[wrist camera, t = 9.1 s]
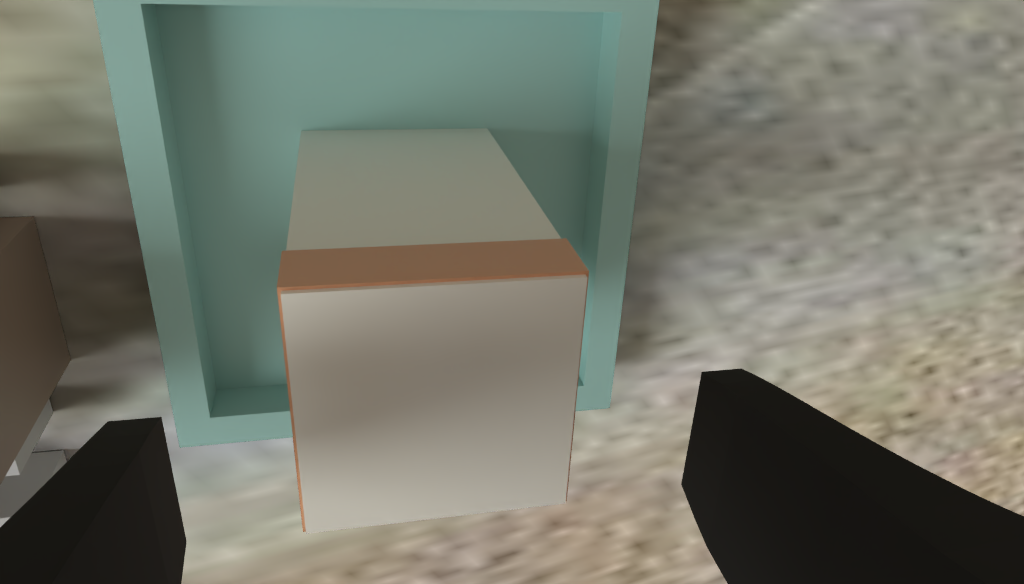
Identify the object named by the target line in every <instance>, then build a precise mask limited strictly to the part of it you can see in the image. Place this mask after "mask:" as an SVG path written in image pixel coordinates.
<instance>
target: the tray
mask: <svg viewBox="0 0 1024 584" xmlns="http://www.w3.org/2000/svg"><path fill="white" fill-rule="evenodd" d="M93 3H94V8H95V13H96V18H97V23H98V28H99V34H100V39H101V44H102V49H103V54H104V59H105V65H106V70H107V75H108V80H109V85H110V90H111V95H112V101H113V106H114V111H115V116H116V121H117V126H118V132H119V137H120V142H121V147H122V152H123V157H124V163H125V168H126V173H127V178H128V183H129V188H130V193H131V199H132V204H133V209H134V214H135V219H136V224H137V230H138V235H139V240H140V245H141V250H142V255H143V260H144V266H145V271H146V276H147V281H148V286H149V291H150V297H151V302H152V307H153V312H154V317H155V322H156V328H157V333H158V338H159V343H160V348H161V353H162V358H163V364H164V369H165V374H166V379H167V384H168V389H169V395H170V400H171V405H172V410H173V415H174V420H175V425H176V431H177V436H178V441H179V446H180V448H181V447H192V446H202V445H213V444H224V443H235V442H246V441H257V440H268V439H279V438H289V437H293V434H292V424H291V415H290V406H289V397H288V387H287V378H286V369H285V360H284V350H283V341H282V332H281V323H280V313H279V304H278V295H277V282H278V274H279V267H280V260H281V253H282V251H286V247H287V239H288V231H289V223H290V215H291V207H292V199H293V191H294V183H295V175H296V167H297V159H298V151H299V143H300V135H301V131H310V130H388V129H466V128H487V129H488V130H489V132H490V133H491V135H492V136H493V138H494V139H495V140H496V142H497V143H498V145H499V146H500V148H501V149H502V151H503V152H504V154H505V155H506V157H507V158H508V160H509V161H510V163H511V164H512V166H513V167H514V169H515V170H516V172H517V173H518V175H519V176H520V178H521V179H522V181H523V182H524V184H525V185H526V187H527V188H528V190H529V191H530V193H531V194H532V196H533V197H534V199H535V200H536V202H537V203H538V205H539V206H540V207H541V209H542V210H543V212H544V213H545V215H546V216H547V218H548V219H549V221H550V222H551V224H552V225H553V227H554V228H555V230H556V231H557V233H558V234H559V236H560V237H561V239H563V238H567V240H568V241H569V243H570V244H571V246H572V247H573V248H574V250H575V251H576V253H577V254H578V256H579V257H580V259H581V260H582V262H583V263H584V264H585V266H586V267H587V269H588V270H589V277H588V287H587V297H586V308H585V318H584V328H583V338H582V348H581V358H580V369H579V379H578V389H577V399H576V409H575V411H583V410H594V409H605V408H610V401H611V393H612V385H613V377H614V368H615V360H616V352H617V344H618V336H619V327H620V319H621V311H622V303H623V295H624V287H625V278H626V270H627V262H628V254H629V246H630V237H631V229H632V221H633V213H634V205H635V196H636V188H637V180H638V172H639V164H640V155H641V147H642V139H643V131H644V123H645V115H646V106H647V98H648V90H649V82H650V74H651V65H652V57H653V49H654V41H655V33H656V24H657V16H658V8H659V0H93Z"/></svg>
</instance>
